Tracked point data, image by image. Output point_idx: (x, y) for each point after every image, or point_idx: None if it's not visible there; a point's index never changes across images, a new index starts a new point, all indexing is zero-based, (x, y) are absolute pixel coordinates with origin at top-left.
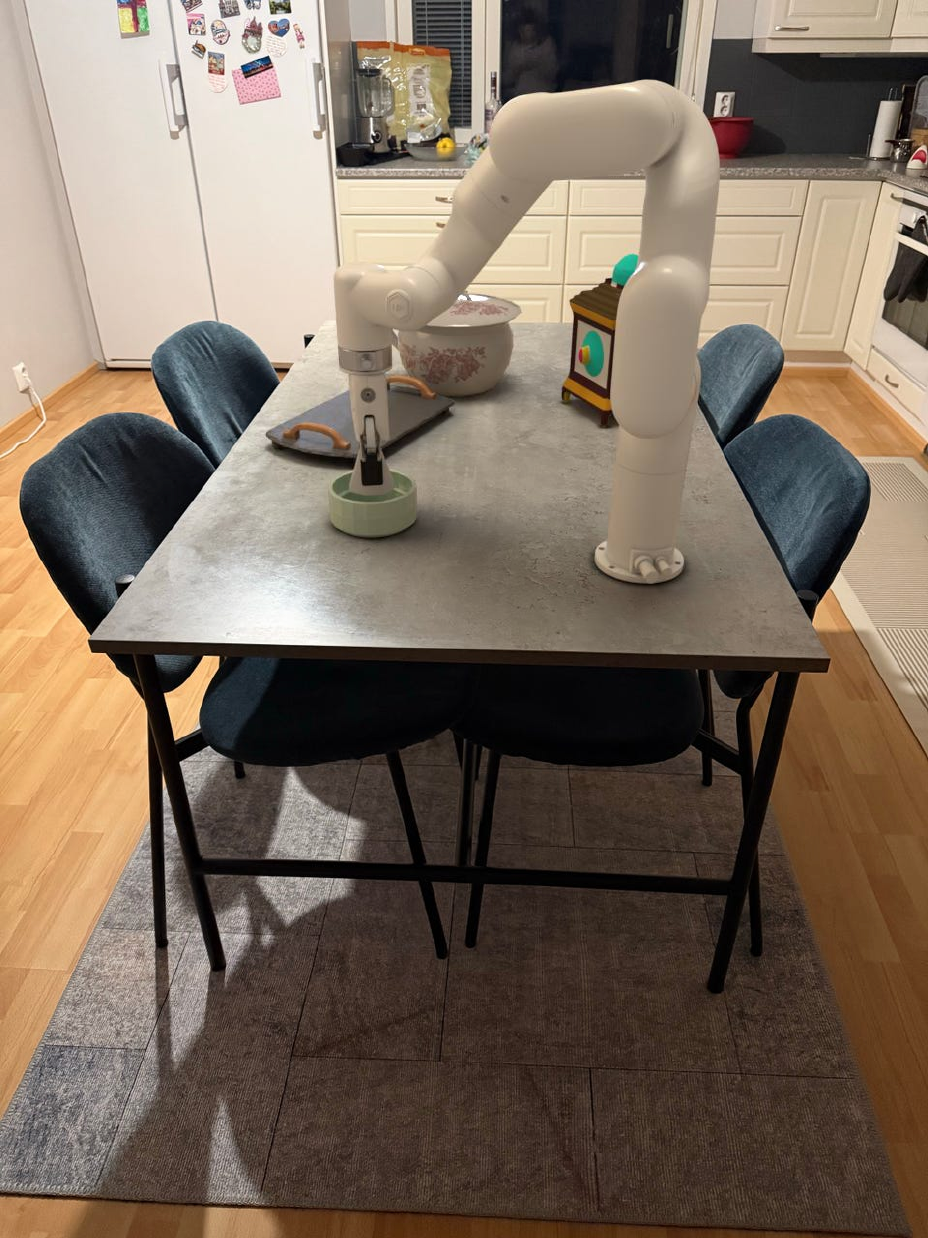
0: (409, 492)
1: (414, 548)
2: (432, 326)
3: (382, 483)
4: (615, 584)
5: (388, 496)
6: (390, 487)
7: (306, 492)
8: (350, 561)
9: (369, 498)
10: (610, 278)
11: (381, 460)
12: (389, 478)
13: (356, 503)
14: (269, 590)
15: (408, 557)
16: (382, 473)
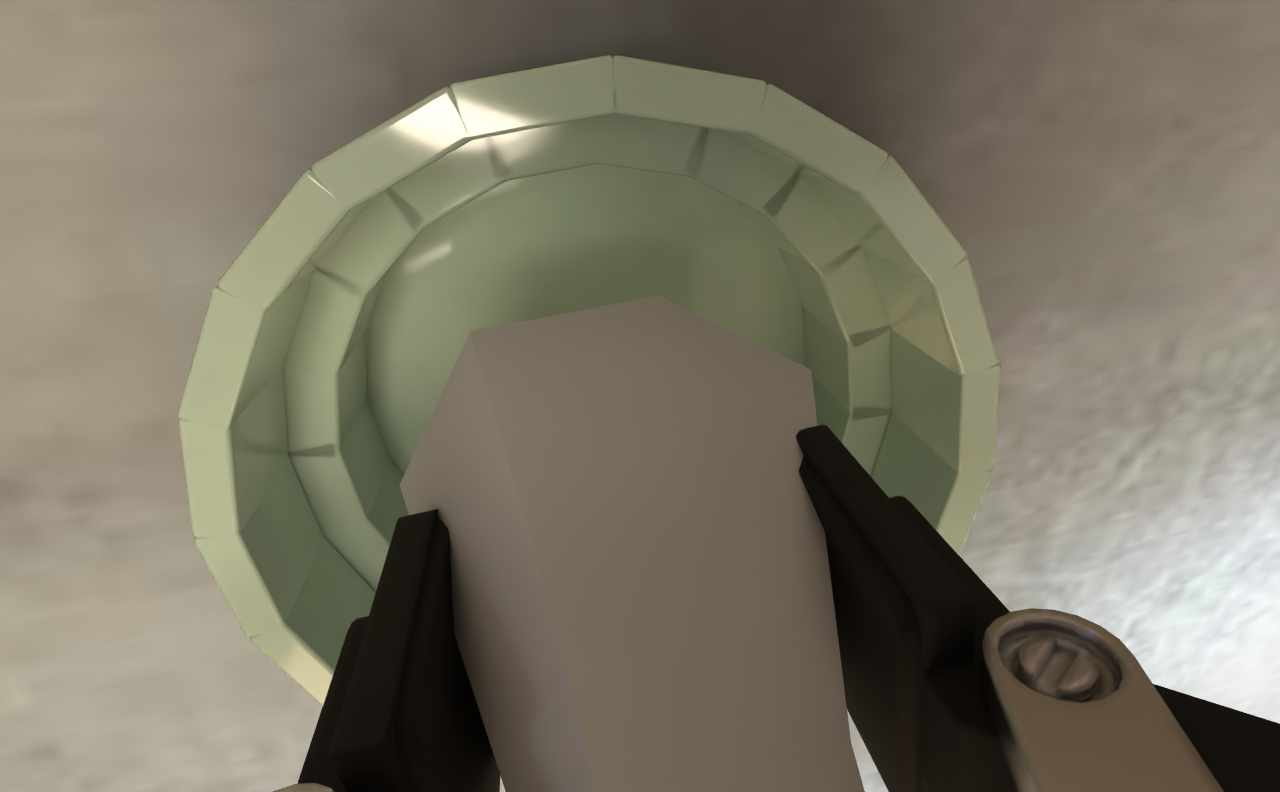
0: (797, 124)
1: (987, 52)
2: None
3: (823, 429)
4: None
5: (360, 332)
6: (718, 337)
7: (267, 769)
8: (1064, 404)
9: (379, 456)
10: None
11: (974, 601)
12: (693, 381)
13: (963, 542)
14: (1214, 640)
15: (1094, 84)
16: (877, 484)
